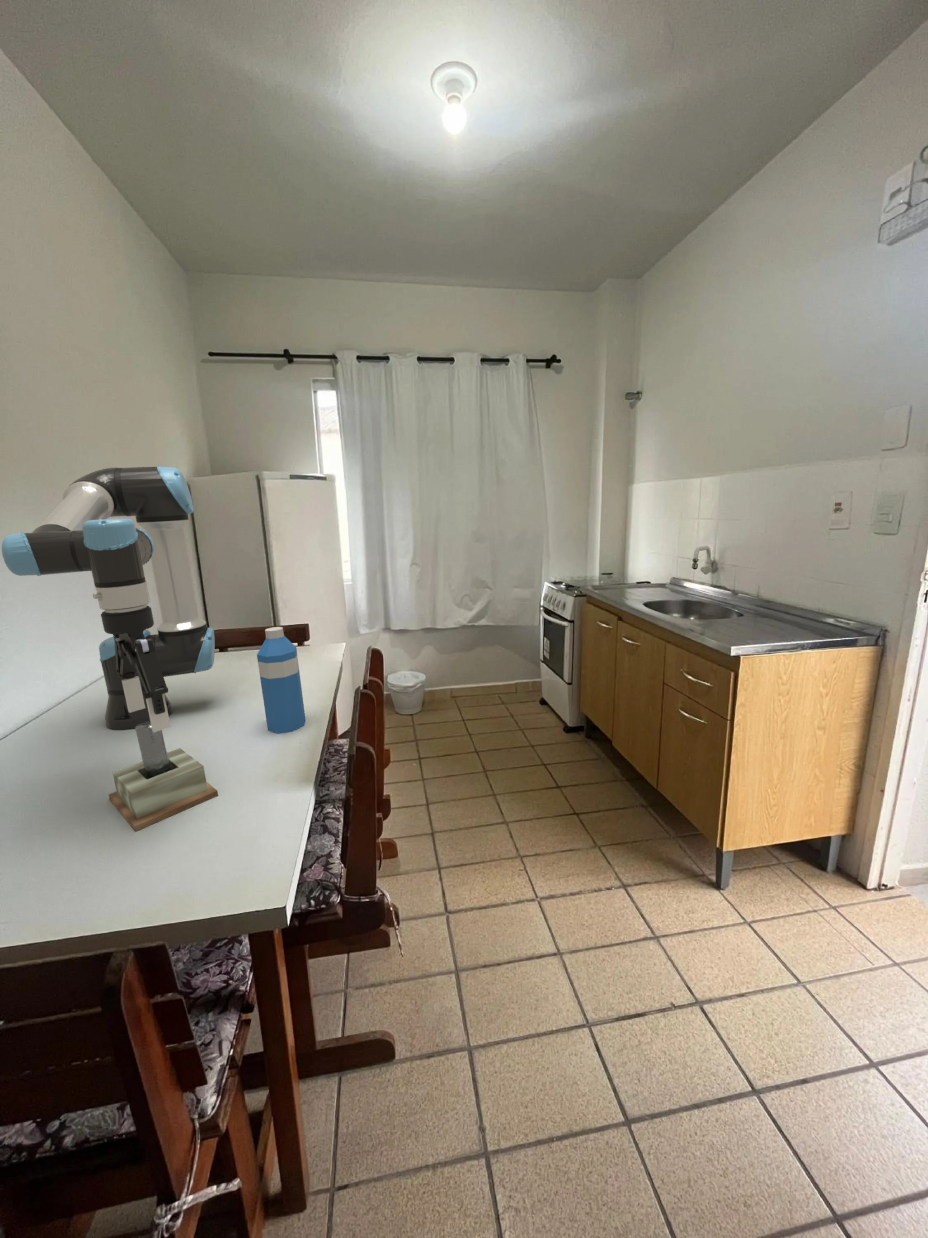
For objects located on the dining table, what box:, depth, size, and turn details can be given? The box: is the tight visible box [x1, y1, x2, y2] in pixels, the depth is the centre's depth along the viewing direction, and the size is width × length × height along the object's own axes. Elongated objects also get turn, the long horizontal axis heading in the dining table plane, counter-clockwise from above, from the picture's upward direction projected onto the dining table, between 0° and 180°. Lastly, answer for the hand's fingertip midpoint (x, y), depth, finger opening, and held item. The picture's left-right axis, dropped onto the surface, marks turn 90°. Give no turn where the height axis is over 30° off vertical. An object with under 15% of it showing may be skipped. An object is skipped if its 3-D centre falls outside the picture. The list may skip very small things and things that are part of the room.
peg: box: [134, 721, 171, 779], centre depth 96 cm, size 4×4×14 cm
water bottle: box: [256, 626, 306, 734], centre depth 126 cm, size 9×9×25 cm
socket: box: [108, 747, 219, 832], centre depth 98 cm, size 16×14×6 cm
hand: (148, 719), depth 95 cm, fingers open, 13 cm apart
